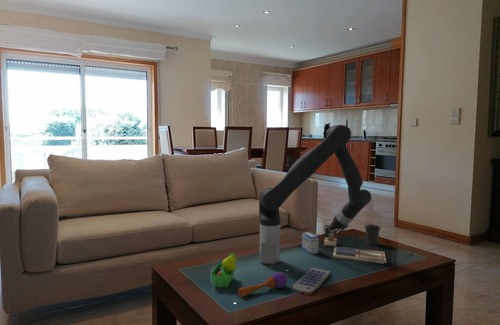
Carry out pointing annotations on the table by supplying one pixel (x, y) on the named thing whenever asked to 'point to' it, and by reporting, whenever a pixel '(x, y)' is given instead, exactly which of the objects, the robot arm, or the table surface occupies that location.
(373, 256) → the stamping board
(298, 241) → the table surface
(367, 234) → the coffee cup
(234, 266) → the fruit basket
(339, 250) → the ink pad
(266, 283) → the kendama
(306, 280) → the remote control
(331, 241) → the stamp
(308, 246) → the medicine box
